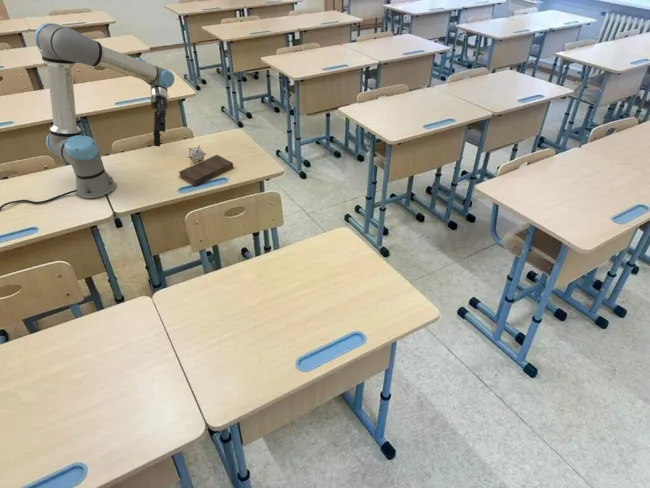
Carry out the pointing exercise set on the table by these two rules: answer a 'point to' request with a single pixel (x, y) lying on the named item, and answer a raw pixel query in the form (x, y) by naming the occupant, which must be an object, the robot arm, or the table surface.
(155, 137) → the robot arm
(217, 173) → the walnut board
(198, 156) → the grey spiked polyhedron
